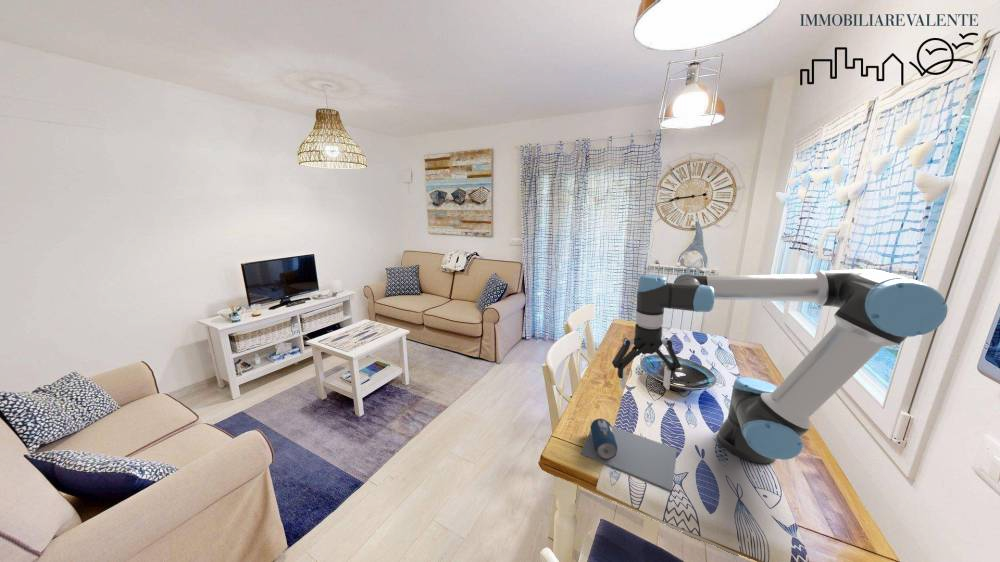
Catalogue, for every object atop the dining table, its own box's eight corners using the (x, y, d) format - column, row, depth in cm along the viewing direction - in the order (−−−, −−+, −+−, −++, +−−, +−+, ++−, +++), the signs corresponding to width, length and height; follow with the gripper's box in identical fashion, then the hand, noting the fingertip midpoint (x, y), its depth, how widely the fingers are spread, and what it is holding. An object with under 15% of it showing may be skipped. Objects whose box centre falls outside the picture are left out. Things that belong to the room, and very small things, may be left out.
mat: (676, 450, 101) (676, 448, 101) (671, 491, 87) (672, 490, 87) (596, 421, 115) (596, 420, 115) (580, 453, 100) (580, 452, 100)
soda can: (596, 437, 109) (602, 464, 97) (586, 421, 108) (591, 447, 96) (614, 429, 107) (623, 456, 95) (604, 413, 106) (611, 438, 95)
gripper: (685, 320, 99) (679, 381, 103) (604, 320, 101) (601, 380, 105) (697, 329, 91) (690, 394, 96) (610, 329, 94) (607, 392, 98)
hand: (644, 387), depth 101 cm, fingers open, 13 cm apart
